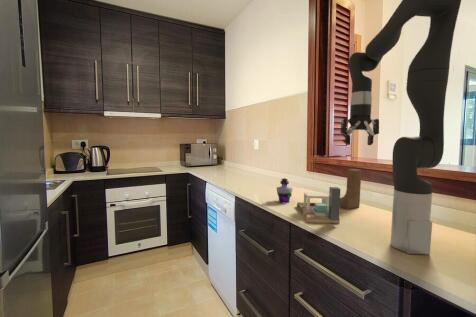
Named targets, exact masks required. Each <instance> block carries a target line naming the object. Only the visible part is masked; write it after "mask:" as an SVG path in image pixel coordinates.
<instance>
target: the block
mask: <svg viewBox="0 0 476 317" xmlns="http://www.w3.org/2000/svg"><path fill="white" fill-rule="evenodd" d="M314 203H315V208H314V210H315V211H316V212H327V207H328V206H327V205H326V204H325V203H322V202H314Z"/></svg>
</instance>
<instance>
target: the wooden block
mask: <svg viewBox="0 0 476 317" xmlns="http://www.w3.org/2000/svg"><path fill="white" fill-rule="evenodd" d="M346 174H347V176H346V191H345V194H344V196H342V197H340V208H341V209H345V210H351V209H356V208H360V205H361V202H360V201H361V184H362V170H361V169H356V168H351V169H347V172H346Z"/></svg>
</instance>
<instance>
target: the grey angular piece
mask: <svg viewBox="0 0 476 317" xmlns="http://www.w3.org/2000/svg"><path fill="white" fill-rule="evenodd" d="M328 190H329V191H328V196H329V210H328V209H327V212H316V211H315V210H314V208H311V212H312V213H313V215H314V216H321V217H328V218H329V219H330V220H336V221H339V218H340V208H341V207H340V198H341V188H340V187H337V186H329V188H328Z"/></svg>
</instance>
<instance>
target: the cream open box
mask: <svg viewBox="0 0 476 317" xmlns="http://www.w3.org/2000/svg"><path fill="white" fill-rule="evenodd" d="M311 199H321V203H325V204H326V205H327V206H328V207H327V209H328V210H329V194H327V193H326V192H316V191H315V192H313V191H311V192H310V191H306V192H304V191H303V203H304V207H306V203H307V211H310V203H311Z"/></svg>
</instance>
